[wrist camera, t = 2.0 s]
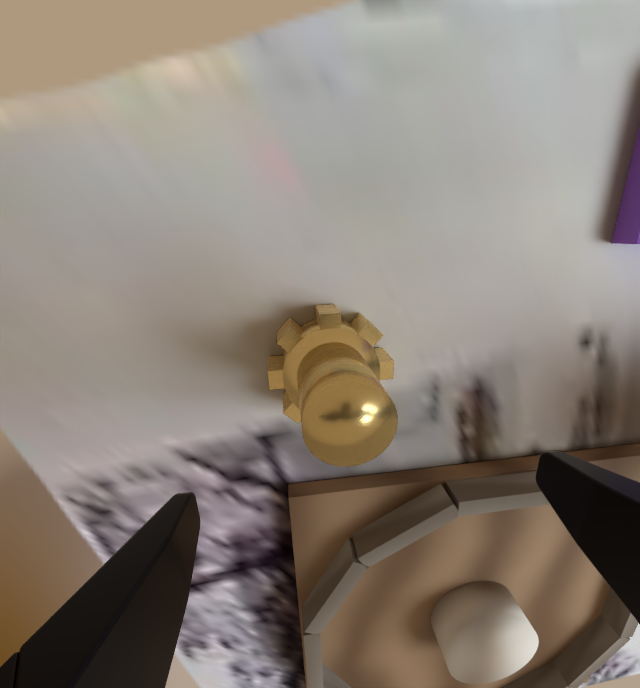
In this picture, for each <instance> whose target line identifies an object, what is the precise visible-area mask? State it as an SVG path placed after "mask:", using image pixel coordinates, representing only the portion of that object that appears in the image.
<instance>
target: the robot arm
mask: <svg viewBox="0 0 640 688" xmlns="http://www.w3.org/2000/svg"><path fill="white" fill-rule="evenodd" d="M535 478H536V483H537V485H538V487H539V488H540V490H541V491H542V493H543V494H544V496H545V497H546V499H547V500H548V502H549V503H550V505H551V506H552V508H553V509H554V511H555V512H556V514H557V515H558V517H559V518H560V520H561V521H562V523H563V524H564V526H565V527H566V529H567V530H568V532H569V533H570V535H571V536H572V538H573V539H574V541H575V542H576V543H577V545H578V546H579V547H580V549H581V550H582V551H583V553H584V554H585V555H586V557H587V558H588V559H589V560H590V562H591V563H592V564H593V566H594V567H595V568H596V569H597V571H598V572H599V573H600V574H601V576H602V577H603V578H604V580H605V581H606V582H607V583H608V585H609V586H610V587H611V588H612V590H613V591H614V592H615V594H616V595H617V596H618V597H619V599H620V600H621V601H622V602H623V604H624V605H625V606H626V607H627V609H628V610H629V611H630V613H631V614H632V615H633V616H634V618H635V619H636V620H637V621H638V623H639V624H640V482H637V481H635V480H632V479H630V478H627V477H625V476H622V475H620V474H617V473H615V472H612V471H610V470H607V469H605V468H602V467H600V466H597V465H595V464H592V463H590V462H587V461H585V460H582V459H580V458H577V457H575V456H572V455H569V454H567V453H564V452H562V451H558V450H554V451H545V452H542V453H541V455H540V457H539V462H538V466H537V471H536V476H535ZM199 530H200V516H199V511H198V506H197V502H196V497H195V495H194V493H192V492H186V493H178V494H175V495H174V496H173V497H172V498H171V499H170V500H169V501H168V502H167V503H166V504H165V505H164V506H163V507H162V508H161V509H160V510H159V511H158V512H157V513H156V514H155V515H154V516H153V517H152V518H151V519H150V520H149V521H148V522H146V523H145V524H144V525H143V526H142V527H141V528H140V529H139V530H138V531H137V532H136V533H135V534H134V535H133V536H132V537H131V538H130V539H129V540H128V541H127V542H126V543H125V544H124V545H123V546H122V547H121V548H120V549H119V550H118V551H117V552H116V553H115V554H114V555H113V556H112V557H111V558H110V559H109V560H108V561H107V562H106V563H105V564H104V565H103V566H102V567H101V568H100V569H99V570H98V571H97V572H96V573H95V574H94V575H93V576H92V577H91V578H90V579H89V580H88V581H87V582H86V583H85V584H84V585H83V586H82V587H81V588H80V589H79V590H78V591H77V592H76V593H75V594H74V595H73V596H72V597H71V598H70V599H69V600H68V601H67V602H66V603H65V604H64V605H63V606H62V607H61V608H60V609H59V610H58V611H57V612H56V613H55V614H54V615H53V616H52V617H51V618H50V619H49V620H48V621H47V622H46V623H45V624H44V625H43V626H42V627H41V628H40V629H38V630H37V631H36V633H34V634H33V635H32V636H31V637H30V639H28V641H26V642H25V643H24V644H23V645H22V647H21V648H20V651H19V652H16V653H14V654H13V655H12V656H11V657H10V658H9V659H8V660H7V661H6V662H5V663H4V664H3V665H2V666H1V667H0V688H165V685H166V681H167V677H168V674H169V670H170V666H171V662H172V659H173V655H174V651H175V648H176V644H177V640H178V636H179V632H180V629H181V625H182V621H183V617H184V614H185V610H186V605H187V601H188V596H189V591H190V585H191V579H192V573H193V567H194V561H195V555H196V549H197V542H198V536H199Z"/></svg>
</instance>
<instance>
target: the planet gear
mask: <svg viewBox="0 0 640 688" xmlns="http://www.w3.org/2000/svg"><path fill="white" fill-rule="evenodd" d="M315 308H316V319H315V320H312V321H309V322H307V323H305V324H304V325H302V326H301V327H300V326H299V325H298V324H297V323H296V322H294V321H293V320H292V319H291V318H289V319H288V320H287V321H286V322H285V324H284V325H283V326H282V327H281V328H280V329H279V330H278V331H277V344H278V345H279V346H281V347H282V348H283V349H284V354H283V355H282V356H269V362H268V380H269V390H272V389H283V388H285V390H286V392H285V393H284V394H283V413H284V414H285V415H287V416H288V417H290V418H291V419H292V420H294V421H295V422H297V423H299V422H300V421H301V423H302V432H303V438H304V441H305V443H306V445H307V447H308V449H309V450H310V452H311V453H312V454H313V455H314V456H316V457H317V458H318V459H320V460H321V461H323V462H325V463H328V464H331V465H335V466H355V465H359V464H363V463H366V462H368V461H370V460H372V459H374V458H375V457H377V456H378V455H380V454H381V453H382V452H383V451H384V450H385V449H386V448H387V447H388V446H389V444H390V443H391V441H392V440H393V438H394V435H395V433H396V429H397V424H398V416H397V411H396V408H395V405H394V403H393V402H392V400H391V398H390V397H389V395H388V394H387V392H386V391H385V389H384V388H383V386H382V385H381V383H380V382H379V380H384V379H393V370H394V360H393V359H392V358H391V357H390V356H389V355H388V354H387V353H386V351H385V350H384V349H383V348H373V346H374V345H375V344H376V343H377V342H378V341H379V340H380V339H381V338H382V336H383V334H382V333H381V332H380V331H379V330H378V329H377V328H376V327H374V326H373V325H372V324H371V323H370V322H369V321H368V320H367V319H366V318H365V317H364V316H363V315H362V314H361V313H359V314H358V315H357V316H356V318H355V319H354V320H353V321H352V322H351V323H349V322H347V321H344V320H342V319H341V312H340V311H339V310H338V308H337V307H336V306H335V305H334V304H328V305H315Z"/></svg>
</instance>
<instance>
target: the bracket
mask: <svg viewBox="0 0 640 688" xmlns="http://www.w3.org/2000/svg"><path fill="white" fill-rule="evenodd" d="M611 243H623V244H640V126H639V130H638V134H637V138H636V142H635V147H634V151H633V155H632V159H631V163H630V167H629V172H628V176H627V180H626V184H625V188H624V192H623V197H622V201H621V205H620V209H619V213H618V217H617V221H616V226H615V230H614V234H613V238H612V242H611Z"/></svg>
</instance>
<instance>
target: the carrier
mask: <svg viewBox="0 0 640 688" xmlns="http://www.w3.org/2000/svg"><path fill="white" fill-rule="evenodd" d="M564 453H567V454H569V455H572V456H575V457H577V458H580V459H582V460H585V461H587V462H590V463H592V464H595V465H597V466H600V467H602V468H605V469H607V470H610V471H612V472H615V473H617V474H620V475H622V476H625V477H627V478H630V479H632V480H635V481H637V482H640V443H638V444H630V445H621V446H613V447H604V448H596V449H587V450H578V451H570V452H564ZM539 457H540V455H536V456H527V457H518V458H510V459H501V460H493V461H484V462H475V463H467V464H458V465H450V466H441V467H433V468H424V469H415V470H407V471H398V472H390V473H381V474H373V475H364V476H355V477H347V478H338V479H330V480H321V481H312V482H304V483H295V484H288V498H289V509H290V520H291V530H292V541H293V552H294V562H295V573H296V584H297V595H298V605H299V616H300V627H301V637H302V648H303V659H304V669H305V680H306V688H571V687H572V688H578V687H579V686H580V685H581V684H582V683H587V682H588V679H589V677H590V676H591V675H592V674H593V673H594V672H595V671H596V670H597V669H598V668H600V667H601V666H602V665H603V664H604V663H605V662H606V661H607V660H608V659H609V658H610V657H612V656H613V655H614V654H615V653H616V652H617V651H618V650H619V649H620V648H621V647H622V646H624V645H625V644H626V643H627V642H628V641H629V640H630V638H629V637H632V636H633V634H634V632H635V629H636V627H637V625H638V621H637V620H636V619H635V618H634V616H633V615H632V614H631V613H630V611H629V610H628V609H627V607H626V606H625V605H624V604H623V602H622V601H621V600H620V599H619V597H618V596H617V595H616V594H615V592H614V591H613V590H612V588H611V587H610V586H609V585H608V583H607V582H606V581H605V580H604V578H603V577H602V576H601V574H600V573H599V572H598V571H597V569H596V568H595V567H594V566H593V564H592V563H591V562H590V560H589V559H588V558H587V557H586V555H585V554H584V553H583V551H582V550H581V549H580V547H579V546H578V545H577V543H576V542H575V541H574V539H573V538H572V536H571V535H570V533H569V532H568V530H567V529H566V527H565V526H564V524H563V523H562V521H561V520H560V518H559V517H558V515H557V514H556V512H555V511H554V509H553V508H552V506H551V505H550V503H549V502H548V500H547V499H546V497H545V496H544V494H543V493H542V491H541V490H540V488H539V487H538V485H537V483H536V478H535V476H536V471H537V466H538V462H539Z"/></svg>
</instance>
